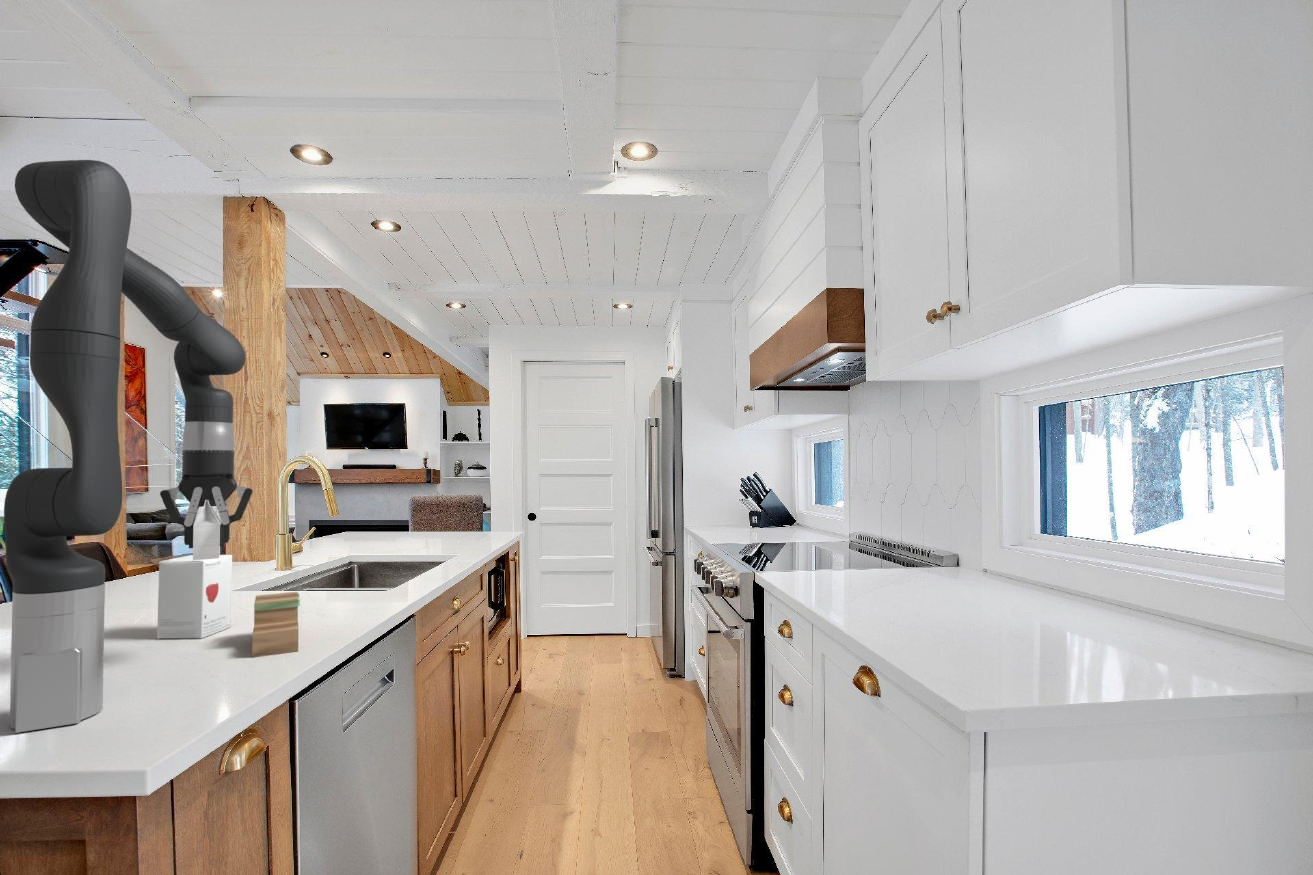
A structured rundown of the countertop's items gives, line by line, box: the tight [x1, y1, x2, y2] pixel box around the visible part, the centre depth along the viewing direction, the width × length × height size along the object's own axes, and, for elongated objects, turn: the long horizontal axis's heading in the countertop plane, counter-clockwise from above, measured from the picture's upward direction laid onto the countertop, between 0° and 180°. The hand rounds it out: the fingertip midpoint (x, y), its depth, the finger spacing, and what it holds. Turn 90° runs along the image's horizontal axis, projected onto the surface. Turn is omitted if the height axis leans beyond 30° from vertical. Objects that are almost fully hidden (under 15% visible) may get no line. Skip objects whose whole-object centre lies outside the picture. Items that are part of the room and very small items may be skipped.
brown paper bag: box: [251, 591, 301, 658], centre depth 123 cm, size 15×7×8 cm, turn 29°
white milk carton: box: [192, 500, 221, 560], centre depth 115 cm, size 4×7×10 cm, turn 32°
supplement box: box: [156, 554, 233, 639], centre depth 131 cm, size 9×9×15 cm
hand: (207, 546), depth 115 cm, fingers closed on white milk carton, 3 cm apart
